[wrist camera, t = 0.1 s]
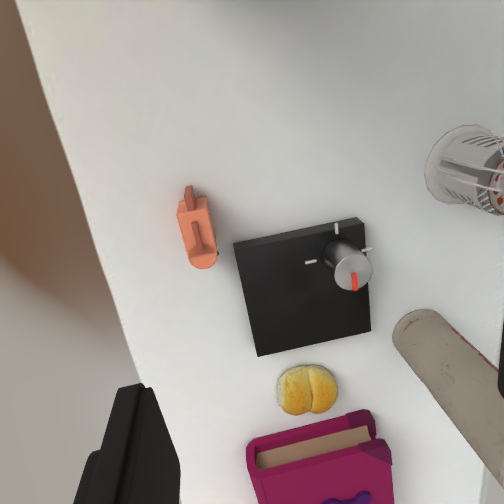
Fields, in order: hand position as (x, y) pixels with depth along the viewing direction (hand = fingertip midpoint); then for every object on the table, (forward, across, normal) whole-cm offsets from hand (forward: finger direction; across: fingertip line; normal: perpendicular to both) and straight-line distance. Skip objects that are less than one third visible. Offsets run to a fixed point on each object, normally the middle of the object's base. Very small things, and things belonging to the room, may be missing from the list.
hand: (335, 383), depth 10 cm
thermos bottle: (+37, -22, +30) cm, 52 cm away
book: (+37, -4, +57) cm, 68 cm away
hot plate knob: (+34, -10, +14) cm, 38 cm away
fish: (+37, +6, +6) cm, 38 cm away
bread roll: (+37, -4, +35) cm, 51 cm away
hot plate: (+37, -6, +18) cm, 41 cm away
